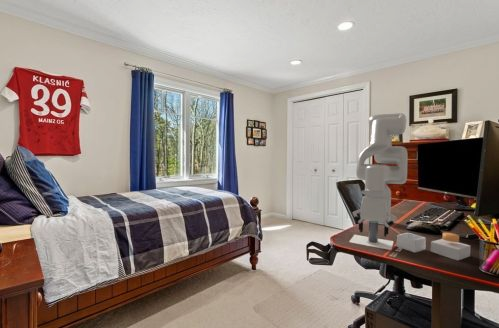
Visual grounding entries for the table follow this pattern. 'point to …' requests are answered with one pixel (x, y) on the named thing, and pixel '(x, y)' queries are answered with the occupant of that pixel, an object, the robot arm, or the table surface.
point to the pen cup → (411, 242)
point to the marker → (373, 232)
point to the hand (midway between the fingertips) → (373, 233)
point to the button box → (450, 249)
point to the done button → (450, 237)
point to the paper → (364, 241)
